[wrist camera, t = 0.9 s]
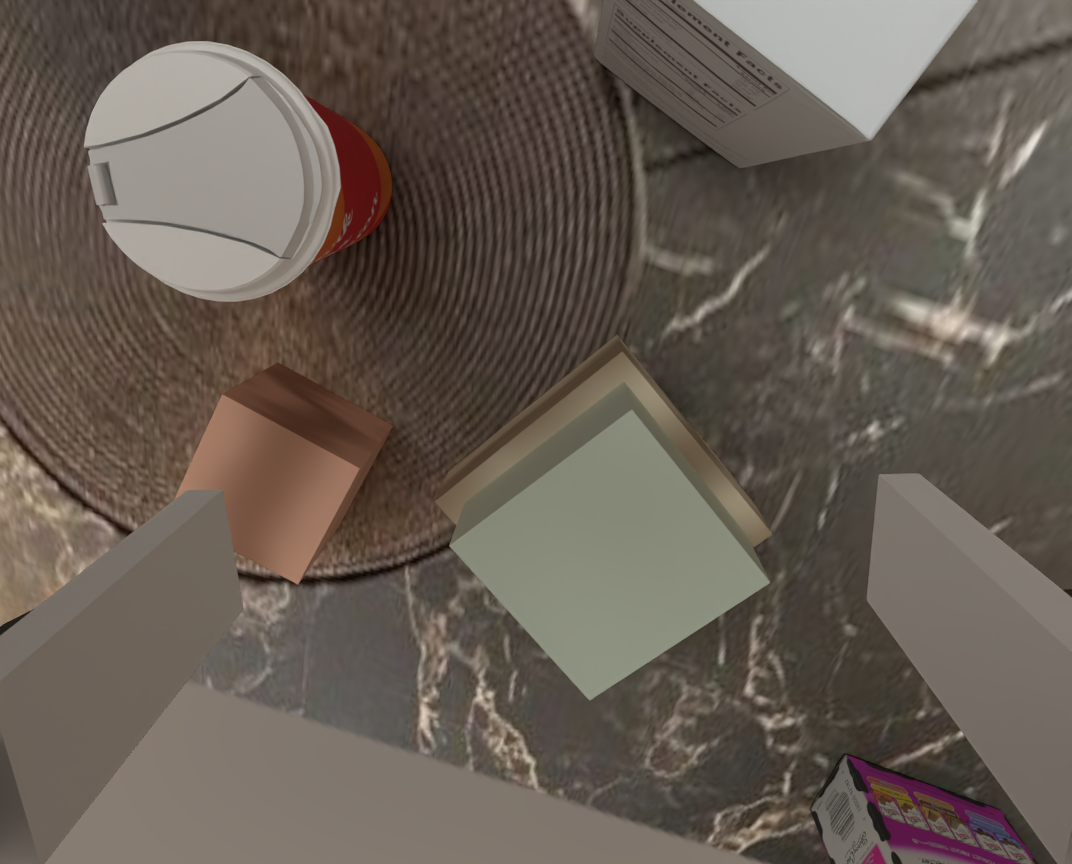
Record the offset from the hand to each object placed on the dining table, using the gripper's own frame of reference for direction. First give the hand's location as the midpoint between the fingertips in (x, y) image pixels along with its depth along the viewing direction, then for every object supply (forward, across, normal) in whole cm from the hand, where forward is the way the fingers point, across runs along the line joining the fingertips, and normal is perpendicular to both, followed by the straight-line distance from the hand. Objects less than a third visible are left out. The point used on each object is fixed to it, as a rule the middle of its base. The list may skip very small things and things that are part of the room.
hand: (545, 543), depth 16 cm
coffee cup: (+26, -11, +8) cm, 29 cm away
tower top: (+21, +2, -9) cm, 23 cm away
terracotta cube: (+26, -14, -6) cm, 30 cm away
